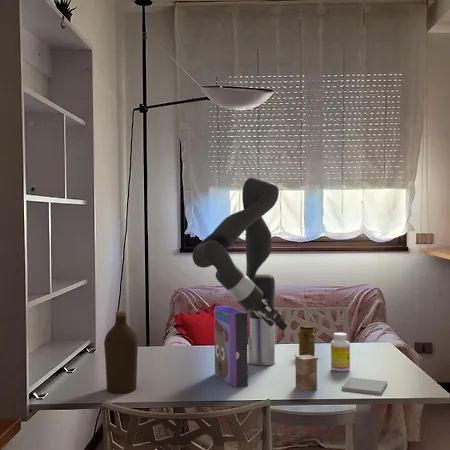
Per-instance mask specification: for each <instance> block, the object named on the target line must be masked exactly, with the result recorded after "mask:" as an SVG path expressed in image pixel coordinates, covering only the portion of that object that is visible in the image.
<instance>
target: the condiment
mask: <svg viewBox="0 0 450 450" xmlns="http://www.w3.org/2000/svg"><path fill="white" fill-rule="evenodd" d="M314 332H315V330H314V326H313V325H310V324H306V325H304V324H303V325H300V326H299V333H298V353H297V354H295V356H300V355H311V356H313V357H314V356H315V352H316V350H315V349H316V348H315V347H316V344H315V339H316V337H315V333H314ZM316 358H319V359H318V360H320V357H318V356H316Z"/></svg>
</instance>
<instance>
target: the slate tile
mask: <svg viewBox="0 0 450 450" xmlns="http://www.w3.org/2000/svg"><path fill="white" fill-rule="evenodd" d="M387 385H388V381H386V380H380V379H379V380H377V379H367V378H360V377H351V376H350V377H349V378H348V379H347V380H346V381H345V383H344V384H343V385H342V387H341V391H342V392H343V391H345V392H353V393H361V394H362V393H363V394H369V395H379V396H381V395H382V394H383V392H384V391H385V388H386V387H387Z"/></svg>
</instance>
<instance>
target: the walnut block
mask: <svg viewBox="0 0 450 450" xmlns="http://www.w3.org/2000/svg"><path fill="white" fill-rule="evenodd" d="M316 357H317V356H316ZM316 357H313V356H311V355H300V356H296V355H295V388H297V389H298V390H300V391H302V392H306V391H307V392H308V390H309V391H316V390H315V389H317V390H318V359H317V358H316Z"/></svg>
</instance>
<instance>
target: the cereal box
mask: <svg viewBox="0 0 450 450" xmlns="http://www.w3.org/2000/svg"><path fill="white" fill-rule="evenodd" d="M213 311H214V314H213V315H214V375H215V376H217V377H218V378H219V379H221V380H222V381H224V382H225V383H226V384H228V385H229V386H231V387H232V388H233V389H237V388H244V387H248V386H249V385H248V384H249V377H248V374H249V373H248V371H249V369H248V368H249V367H248V366H249V365H248V364H249V363H248V313H247V312H245V311H243V310H240V309H237V308H234V307H232V306H229V305H223V304H221V305H216V306H214V310H213Z"/></svg>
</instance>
